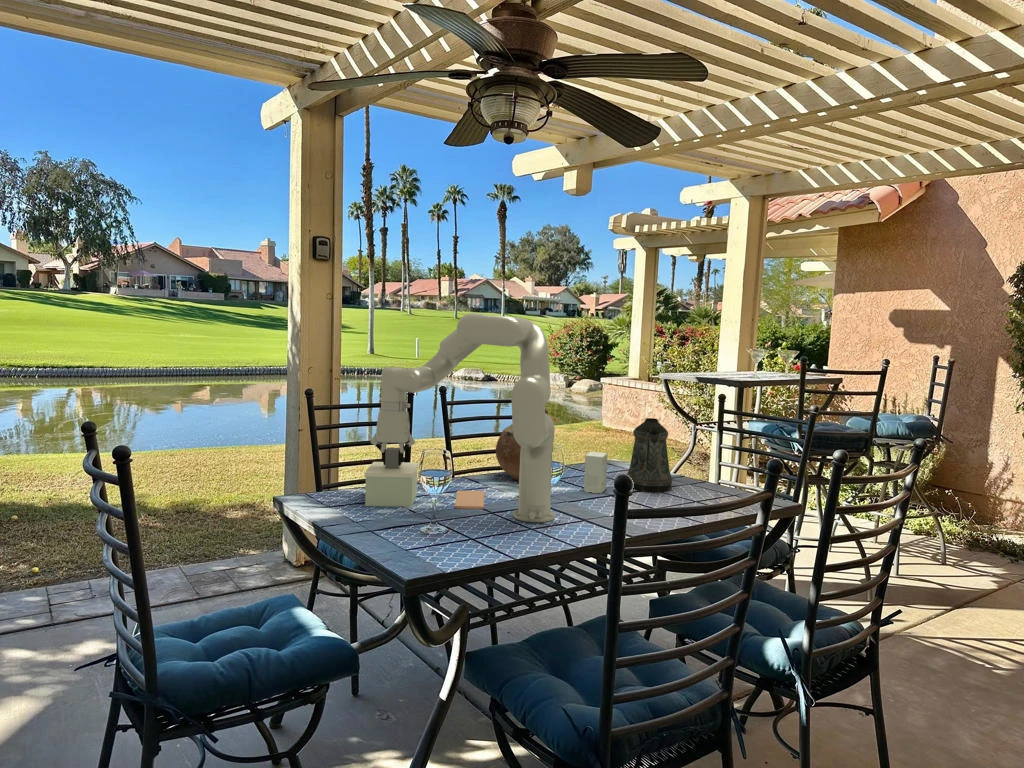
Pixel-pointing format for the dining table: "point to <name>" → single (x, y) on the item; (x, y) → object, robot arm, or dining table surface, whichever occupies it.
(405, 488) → the storage tub
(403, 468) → the lid
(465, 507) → the tile
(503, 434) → the jug
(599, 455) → the small box
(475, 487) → the dining table surface
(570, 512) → the dining table surface
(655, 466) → the beer stein
